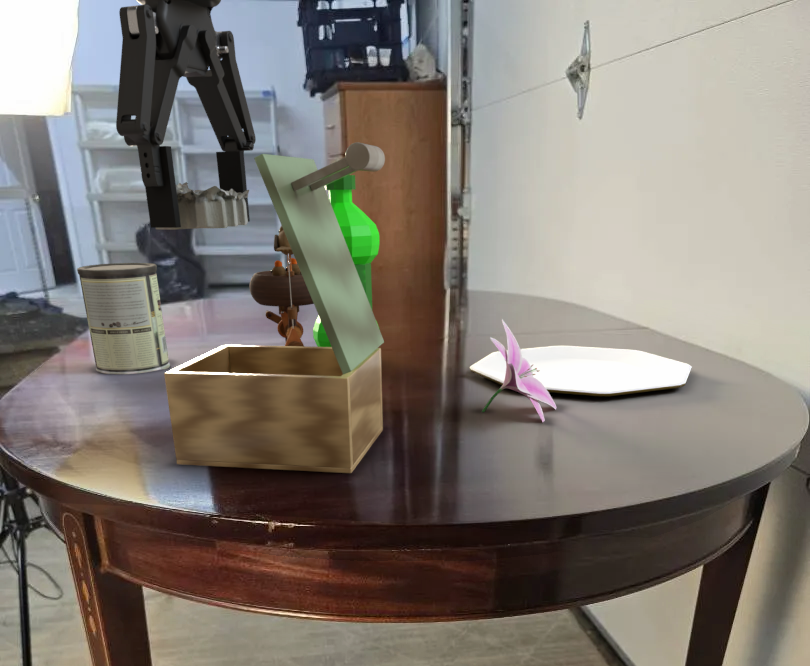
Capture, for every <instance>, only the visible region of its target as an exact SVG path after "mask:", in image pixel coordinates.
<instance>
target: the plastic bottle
mask: <svg viewBox="0 0 810 666" xmlns="http://www.w3.org/2000/svg"><path fill="white" fill-rule="evenodd" d="M324 188H325V190H326V191H327V192H328V198H329V200H330V203H331V206H332V208H333V211H334V213H335V216H336V219H337V221H338V224H339V226H340V229H341V231H342V234H343V237H344V239H345V242H346V244H347V247H348V250H349V252H350V255H351V257H352V260H353V262H354V265H355V268H356V270H357V273H358V275H359V278H360V281H361V283H362V286H363V288H364V291H365V293H366V296H367V299H368V301H369V304H370V306H371V309H372V310H373V287H372V285H373V284H372V281H373V280H372V262H373V261H374V259H376V257H377V256H378V255H379V250H380V245H381V244H380V232H379V229H378V226H377V224H376V223H375V222H374V221H373V220H372V219H371V218H370V217H369V216H368V215H367V214H366V213H365V212H364V211H363V210H362V209H361V208H360V207H358V206H357V205H356V204H355V203H354V202H353V191H354V190H356V189H357V187H356V174H350V175H347V176H345V177H343V178H341V179H339V180H336V181H334V182H332V183H330V184H328V185H326V186H324ZM376 322H377V323H378V321H377V320H376ZM378 327H379V328H380V326H379V325H378ZM312 336H313V340H314V343H315V344H316V347H331V344H330V342H329V339H328V337H327V334H326V332H325V329H324V327H323V325H322V322H321V320H320V317H319V315H317V317H316V320H315V321H314V324H313V328H312Z"/></svg>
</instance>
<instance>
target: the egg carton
mask: <svg viewBox="0 0 810 666" xmlns="http://www.w3.org/2000/svg"><path fill="white" fill-rule="evenodd" d="M188 184H189V183H188V182H187V181H185V182H183V183H181V182H179V183H178V184H176V191H177V199H178V207H179V215H180V223H181V227H177V228H155V230H164V231H165V230H171V231H172V230H191V229H192V230H194V229H197V230H198V229H227V228H228V227H230V228H231V227H239V226H247V225H248V223H249V222H248V218H247V209H246V202H245V200H244V198H247V197H249V192H250V189H247V190H246V191H245V192H243V193H241V192H239V193H236V192H235V191H234V190H233V189H230V190H229V191H224V190H223V189H221V188H220V187H218V186H217V185H213V186H211V187H209V188H207V189H203V190H201V189H192V188H189V185H188ZM145 201H147V198H146V200H145Z"/></svg>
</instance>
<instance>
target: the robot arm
mask: <svg viewBox="0 0 810 666" xmlns="http://www.w3.org/2000/svg"><path fill="white" fill-rule="evenodd" d="M135 2H137V3H139V5H130V6H121V7H120V8H119V12H118V13H119V22H120V27H121V35H122V41H121V42H122V43H121V55H120V66H119V67H120V69H119V81H118V92H117V93H118V96H117V106H116V107H117V108H116V119H115V120H116V121H115V129H116V131H117V133H118V135H119V136H121V137H123V140H124V142H125V144H126V146H127V147H136V148H137V152H138V161H139V167H140V172H141V181H142V184H143V186H144V189H145V196H146V199H147V200H146V202H147V210H148V218H149V224H150V228H151V229H152V228H153V229H156V228H177V227H181V223H180V215H179V207H178V199H177V191H176V185H177V184H176V176H175V169H174V159H173V152H172V146H169V145H163V143H164V140H165V136H166V132H167V129H168V124H169V121H170V117H171V113H172V110H173V105H174V101H175V97H176V93H177V89H178V85H179V81H180V80H181V78H186V81H187V82H188V84H189V85H190V86H192V87H194V88H195V90H196V93H197V95H198V98H199V100H200V102H201V105H202V107H203V109H204V111H205V114H206V116H207V119H208V121H209V123H210V126H211V128H212V131H213V133H214V136H215V138H216V140H217V142H218V144H219V147H220V149H221V151H215V155H216V165H217V174H218V182H219V189H220V188H221V189H223V190H224V191H229V190H230V189H233V190H234V191H235V192H236V193H239V192H241V193H243V192H245V191H246V190H248V185H247V174H246V162H245V152H249V151H251V152H252V151H253V150H254V147H255V144H256V134H255V130H254V126H253V122H252V117H251V114H250V110H249V106H248V101H247V98H246V93H245V90H244V86H243V82H242V78H241V74H240V70H239V66H238V62H237V57H236V47H235V39H234V34H233V32H232V31H231V30H221V31H216V29H215V27H214V23H213V19H212V15H211V13H212V11H213V9H214V7H215V8H216V7H218V6H219V4H220V3H221V2H222V0H135ZM133 116H134V117H135V118H132V117H133ZM248 197H249V196H248ZM248 197H247V198H244V200H245V202H246V209H247V218H248V223H250V222H251V219H250V209H249V198H248Z"/></svg>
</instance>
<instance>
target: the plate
mask: <svg viewBox="0 0 810 666" xmlns="http://www.w3.org/2000/svg"><path fill="white" fill-rule="evenodd" d="M520 350H521V355H522V357H523V358H525V359H526V360H527V361H528V363H529V364H530V366H532V365H533V366H532V367H531V368H532V370H533V369H535V368H537V369H536V370H538V372H537V371H536V370H533V371H534V372H533V371H532V372H533V374H535V375H533V377H534V378H536V379H537V380H539V381H540V382H541V383H542V384H543V386H544V387H545V388H546V389H547V391H548V392H549V393H554V394H555V393H556V394H569V395H579V396H591V397H615V396H621V395H623V396H624V395H630V394H639V393H647V392H655V391H663V390H671V389H672V390H673V389H679V388H681V387H684V386H686V383H687V382H688V378H689V376H690V373H691V372H692V368H693V366H692V365H690V364H689V363H686V362H682V361H678V360H676V359H672V358H668V357H665V356H660V355H658V354H654V353H651V352H646V351H644V350H643V351H642V350H638V349H637V350H636V349H627V348H612V347H611V348H609V347H596V346H595V347H592V346H577V345H549V346H548V345H547V346H538V347H528V348H520ZM506 351H507V356H508V349H506ZM507 361H508V358H507ZM539 370H540V371H539ZM469 371H470V372H471V373H473V374H476V375H477V376H480V377H482V378H485V379H487V380H490V381H492V382H493V383H496V384H497V385H501V386H502V385H503V383H504V380H505V374H506V360H505V358H504V357H503V355H502V354H501V352H500V351H499V350H498V351H492V352H491V353H489V354H488V355H486V356H485V357H483V358H481V359H480V360H478V361H476V362H475V363H473V364H472V365H470V366H469Z"/></svg>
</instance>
